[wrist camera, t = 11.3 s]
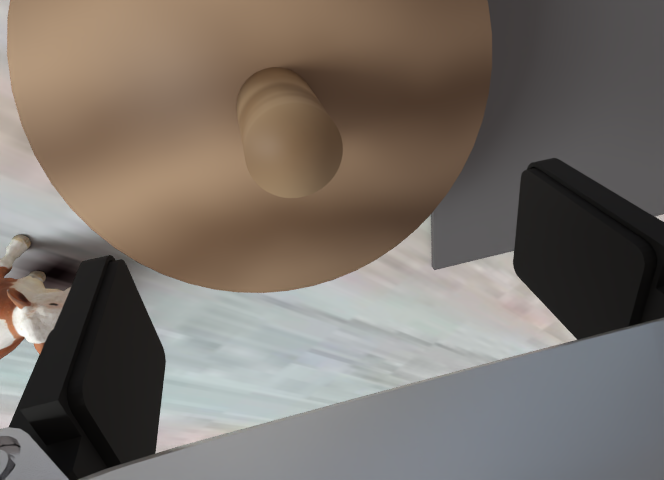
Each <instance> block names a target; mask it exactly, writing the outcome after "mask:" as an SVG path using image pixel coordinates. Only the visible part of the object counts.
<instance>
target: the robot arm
mask: <svg viewBox="0 0 664 480" xmlns="http://www.w3.org/2000/svg"><path fill="white" fill-rule="evenodd" d="M513 265H514V269H515V272H516V274H517V276H518V277H519V278H520V279H521V280H522V281H523V282H524V283H525V284H526V285H527V286H528V288H529V289H530V290H531V291H532V292H533V293H534V294H535V295H536V296H537V297H538V298H539V299H540V300H541V301H542V302H543V303H544V305H545V306H546V307H547V308H548V309H549V310H550V311H551V312H552V313H553V314H554V315H555V316H556V317H557V318H558V319H559V321H560V322H561V323H562V324H563V325H564V326H565V327H566V328H567V329H568V330H569V331H570V332H571V333H572V334H573V335H574V336H575V338H576V339H577V340H575V341H571V342H567V343H563V344H559V345H555V346H552V347H548V348H544V349H540V350H536V351H532V352H529V353H525V354H521V355H517V356H513V357H509V358H505V359H502V360H498V361H494V362H490V363H487V364H483V365H479V366H475V367H471V368H468V369H464V370H460V371H456V372H453V373H449V374H445V375H441V376H437V377H434V378H430V379H426V380H422V381H419V382H415V383H411V384H407V385H404V386H400V387H396V388H393V389H389V390H385V391H381V392H378V393H374V394H370V395H366V396H363V397H359V398H355V399H351V400H348V401H344V402H340V403H337V404H333V405H329V406H326V407H322V408H318V409H315V410H311V411H307V412H304V413H300V414H296V415H293V416H289V417H285V418H282V419H278V420H274V421H271V422H267V423H263V424H260V425H256V426H252V427H249V428H245V429H241V430H237V431H234V432H230V433H226V434H223V435H219V436H216V437H212V438H208V439H205V440H201V441H197V442H194V443H190V444H186V445H183V446H179V447H175V448H172V449H169V450H166V451H162V452H159V453H156V454H155V451H156V443H157V434H158V425H159V416H160V407H161V399H162V390H163V381H164V372H165V362H166V360H165V353H164V349H163V346H162V344H161V342H160V340H159V337H158V335H157V333H156V331H155V328H154V326H153V324H152V322H151V319H150V317H149V315H148V313H147V310H146V308H145V306H144V304H143V301H142V299H141V297H140V295H139V292H138V290H137V288H136V286H135V283H134V281H133V279H132V277H131V274H130V272H129V270H128V268H127V265H126V264H125V262H124V261H123V260H122V259H121V260H115V259H114V257H113V256H111V255H109V256H104V257H99V258H95V259H90V260H86V261H83V262H82V263H81V265H80V267H79V270H78V272H77V274H76V277H75V279H74V281H73V284H72V286H71V289H70V291H69V293H68V296H67V298H66V300H65V303H64V305H63V308H62V310H61V312H60V315H59V317H58V319H57V322H56V324H55V327H54V329H53V330H51V332H50V333H49V335H48V337H47V339H46V341H45V344H44V346H43V348H42V351H41V353H40V355H39V358H38V360H37V362H36V365H35V367H34V369H33V372H32V374H31V376H30V379H29V381H28V383H27V386H26V388H25V390H24V393H23V395H22V397H21V400H20V402H19V404H18V407H17V409H16V411H15V414H14V416H13V418H12V421H11V423H10V425H9V427H8V428H3V429H0V480H664V222H663V221H661V220H659V219H658V218H656V217H654V216H653V215H651V214H649V213H648V212H646V211H644V210H643V209H641V208H639V207H638V206H636V205H634V204H633V203H631V202H629V201H628V200H626V199H624V198H623V197H621V196H619V195H618V194H616V193H614V192H613V191H611V190H609V189H608V188H606V187H604V186H603V185H601V184H599V183H598V182H596V181H594V180H593V179H591V178H589V177H588V176H586V175H584V174H583V173H581V172H579V171H578V170H576V169H574V168H573V167H571V166H569V165H568V164H566V163H564V162H563V161H561V160H559V159H557V158H551V159H546V160H541V161H537V162H532V163H530V164H529V165H528V167H527V170H524V171H523V172H522V174H521V181H520V192H519V203H518V214H517V225H516V236H515V248H514V259H513Z"/></svg>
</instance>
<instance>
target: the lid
mask: <svg viewBox="0 0 664 480" xmlns="http://www.w3.org/2000/svg"><path fill="white" fill-rule="evenodd" d="M7 57H8V64H9V71H10V79H11V86H12V92H13V96H14V99H15V103H16V106H17V110H18V113H19V117H20V121H21V124H22V127H23V129H24V131H25V134H26V136H27V138H28V140H29V143H30V145H31V147H32V150H33V152H34V154H35V156H36V158H37V160H38V161H39V163H40V165H41V166H42V168H43V170H44V172H45V173H46V175H47V177H48V178H49V180H50V182H51V183H52V185H53V186H54V187H55V188H56V190H57V191H58V192H59V194H60V195H61V196H62V197H63V199H64V200H65V201H66V203H67V204H68V205H69V206H70V208H71V209H72V210H73V211H74V212H75V213H76V214H77V215H78V216H79V217H80V218H81V219H82V220H83V221H84V222H85V223H86V224H87V225H88V226H89V227H90V228H91V229H92V230H93V231H94V232H96V233H97V234H98V235H99V236H101V237H102V238H103V239H104V240H106V241H107V242H108V243H109V244H111V245H112V246H113V247H115V248H116V249H118V250H119V251H121V252H122V253H124V254H126V255H127V256H129V257H130V258H132V259H134V260H135V261H137V262H138V263H140V264H142V265H145V266H147V267H149V268H151V269H153V270H155V271H157V272H159V273H161V274H163V275H166V276H169V277H172V278H175V279H178V280H180V281H183V282H186V283H189V284H194V285H198V286H202V287H206V288H211V289H216V290H224V291H232V292H250V293H266V292H278V291H289V290H294V289H299V288H304V287H310V286H314V285H317V284H320V283H324V282H327V281H330V280H334V279H336V278H339V277H341V276H344V275H346V274H348V273H351V272H353V271H356V270H358V269H359V268H361V267H363V266H365V265H367V264H369V263H371V262H372V261H374V260H376V259H378V258H379V257H381V256H382V255H384V254H385V253H387V252H388V251H390V250H391V249H393V248H394V247H396V246H397V245H398V244H399V243H401V242H402V241H403V240H404V239H405V238H407V237H408V236H409V235H410V234H411V233H413V232H414V231H415V230H416V229H417V228H418V227H419V226H420V225H421V224H422V223H423V222H424V221H425V220H426V219H427V218H428V217H429V216H430V214H431V213H432V212H433V211H434V210H435V209H436V207H437V206H438V205H439V204H440V202H441V201H442V200H443V198H444V197H445V196H446V195H447V193H448V192H449V190H450V189H451V187H452V186H453V184H454V182H455V181H456V179H457V178H458V176H459V174H460V173H461V171H462V169H463V167H464V165H465V163H466V161H467V159H468V157H469V155H470V153H471V151H472V149H473V146H474V144H475V141H476V138H477V135H478V132H479V129H480V127H481V124H482V121H483V117H484V112H485V108H486V104H487V99H488V95H489V88H490V79H491V71H492V30H491V22H490V14H489V6H488V1H487V0H10V6H9V12H8V28H7Z"/></svg>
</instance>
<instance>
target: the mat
mask: <svg viewBox="0 0 664 480" xmlns="http://www.w3.org/2000/svg"><path fill="white" fill-rule="evenodd" d="M487 1H488V6H489V14H490V22H491V30H492V71H491V79H490V88H489V95H488V99H487V104H486V108H485V112H484V117H483V121H482V124H481V127H480V129H479V132H478V135H477V138H476V141H475V144H474V146H473V149H472V151H471V153H470V155H469V157H468V159H467V161H466V163H465V165H464V167H463V169H462V171H461V173H460V174H459V176H458V178H457V179H456V181H455V182H454V184H453V186H452V187H451V189H450V190H449V192H448V193H447V195H446V196H445V197H444V198H443V200H442V201H441V202H440V204H439V205H438V206H437V207H436V209H435V210H434V211H433V212H432V213H431V235H432V267H433V269H434V270H437V269H441V268H445V267H449V266H453V265H457V264H461V263H465V262H470V261H474V260H478V259H482V258H486V257H490V256H494V255H498V254H502V253H506V252H510V251H514V248H515V236H516V225H517V214H518V203H519V192H520V181H521V174H522V172H523V171H524V170H527V167H528V165H529V164H530V163H532V162H537V161H541V160H546V159H551V158H557V159H559V160H561V161H563V162H564V163H566V164H568V165H569V166H571V167H573V168H574V169H576V170H578V171H579V172H581V173H583V174H584V175H586V176H588V177H589V178H591V179H593V180H594V181H596V182H598V183H599V184H601V185H603V186H604V187H606V188H608V189H609V190H611V191H613V192H614V193H616V194H618V195H619V196H621V197H623V198H624V199H626V200H628V201H629V202H631V203H633V204H634V205H636V206H638V207H639V208H641V209H643V210H644V211H646V212H648V213H649V214H651V215H653V216H658V215H662V214H664V0H487Z"/></svg>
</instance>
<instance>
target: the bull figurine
mask: <svg viewBox="0 0 664 480" xmlns="http://www.w3.org/2000/svg"><path fill="white" fill-rule="evenodd" d="M30 245H31V242H30V239H29V238H28V237H26V236H24V235H16V236H14V237H13V239H12V241H11V243H10V245H9V246H7V247H6V255H5V256H4V257H3V258H1V259H0V359H1V358H3V357H4V356H6V355H7V354H9V353H10V352H12V351H13V350H14V349H15V348H16V347H17V346H18V345H19V344H20V343H21V342H22V340H23V339H24V338H26V339H27V341H28V342H31V343H34V346H35V348H36V350H37V351H38V353H39V354H40V353H41V351H42V348H43V346H44V344H45V341H46V339H47V337H48V335H49V333H50V332H51V330H53V329H54V327H55V324H56V322H57V319H58V317H59V315H60V312H61V310H62V308H63V305H64V303H65V300H66V298H67V296H68V293H69V291H70V289H71V287H70V288H68V289H66V290H65V291H61V290H58V289H45V287H44V284H43V282H44V281H45V280H46V275H45V274H44V273H43V272H41V271H33V272H31V273H30V274H29V275H28V276H27V277H24V278H21V279H13V278H4V276H5V275H6V274H7V273H9V272H10V270H11V269H12V264H13V262H14V261H15V259H16V258H18V257H20V256H21V255H22V253H24V252H25V251H26V250H27V249H28V248H29V247H30Z"/></svg>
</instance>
